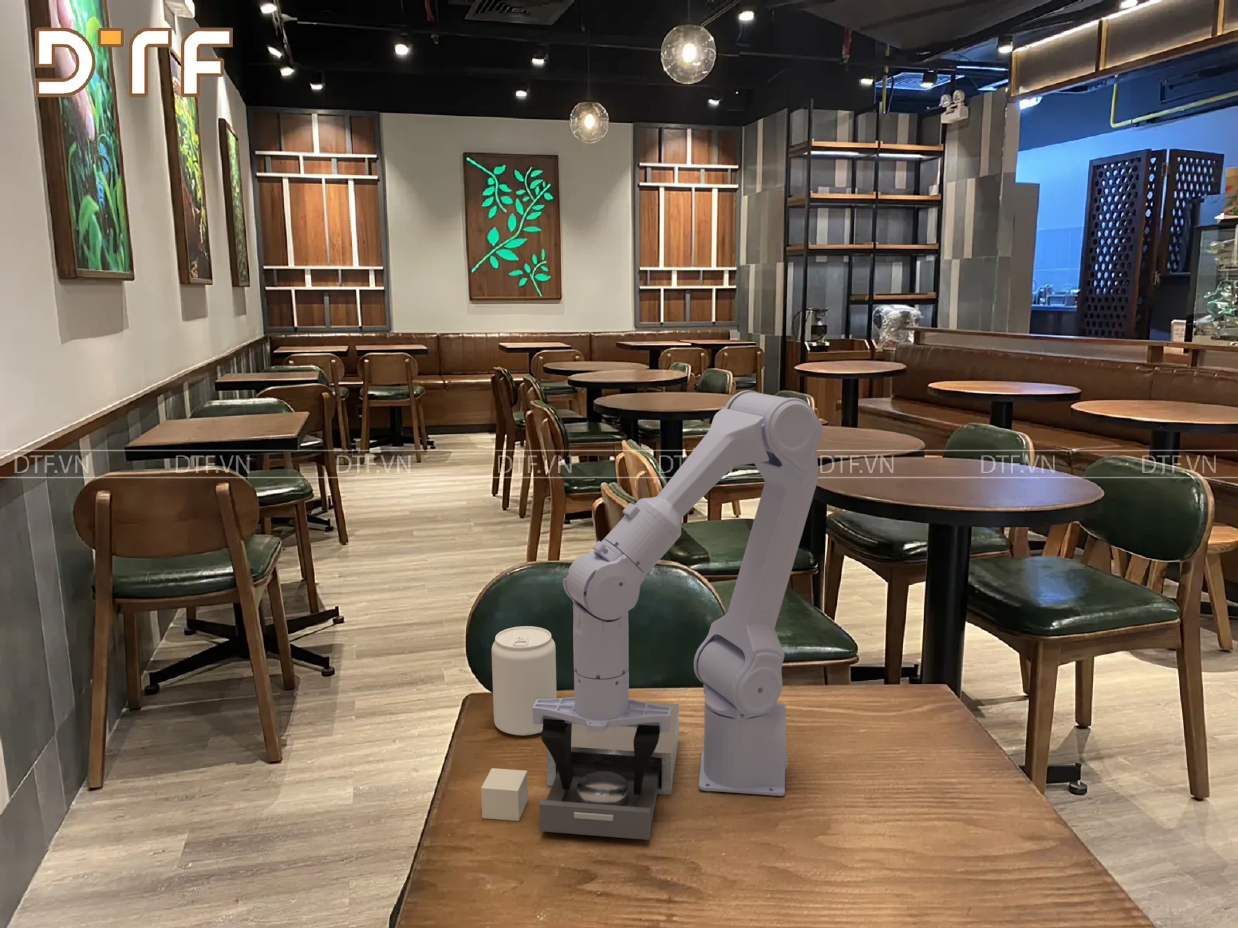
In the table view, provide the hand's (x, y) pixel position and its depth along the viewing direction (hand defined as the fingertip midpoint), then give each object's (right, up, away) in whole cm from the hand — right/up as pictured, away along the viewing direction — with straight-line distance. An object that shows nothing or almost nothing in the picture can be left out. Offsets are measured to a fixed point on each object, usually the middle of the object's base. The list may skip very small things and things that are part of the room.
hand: (602, 787), depth 93 cm
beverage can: (-10, +1, +20) cm, 22 cm away
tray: (0, -2, 0) cm, 2 cm away
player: (+1, -1, +10) cm, 10 cm away
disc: (0, -1, 0) cm, 1 cm away
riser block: (-11, -3, +1) cm, 11 cm away
